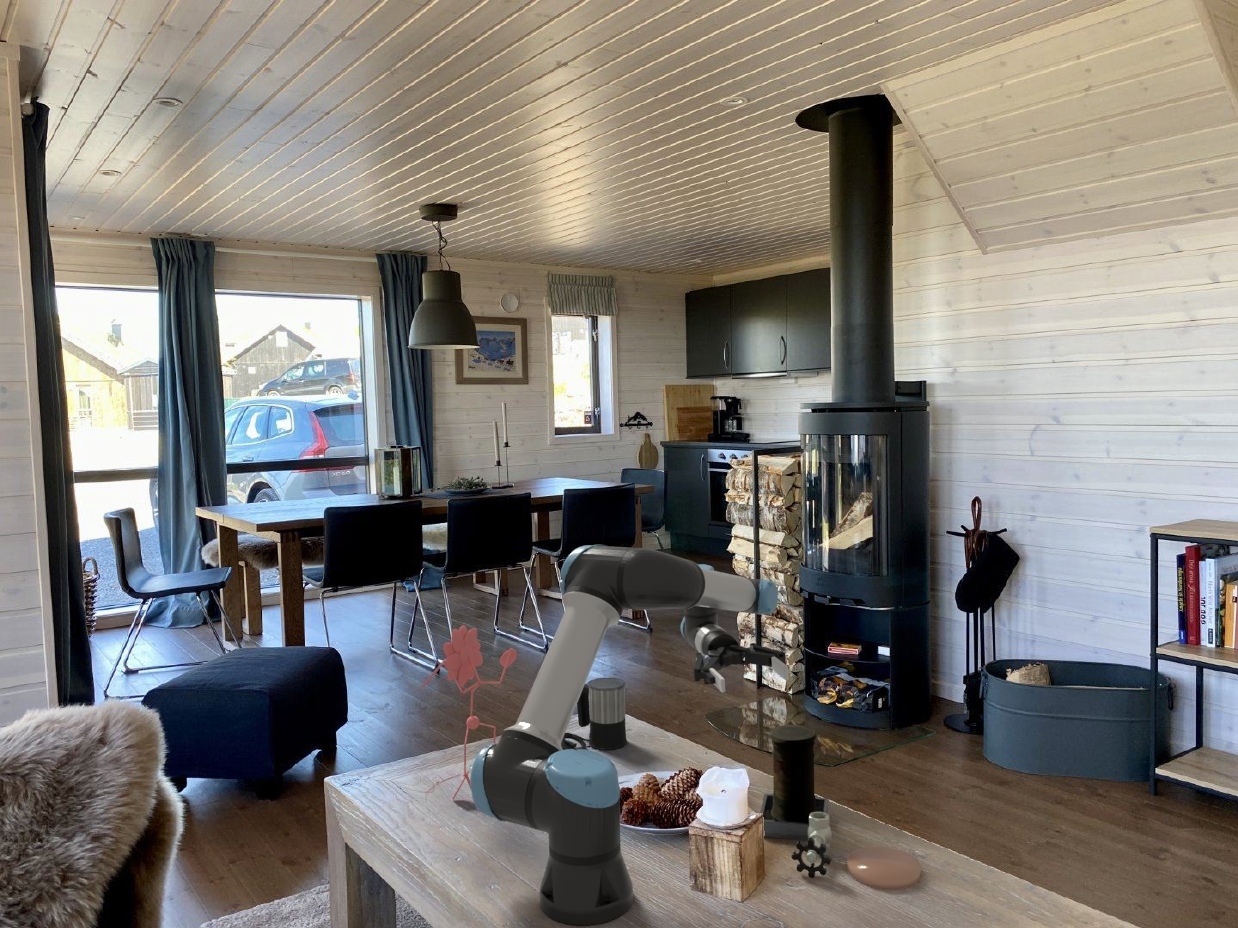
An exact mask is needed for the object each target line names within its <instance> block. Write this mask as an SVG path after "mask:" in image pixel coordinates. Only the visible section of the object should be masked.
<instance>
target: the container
mask: <svg viewBox="0 0 1238 928" xmlns="http://www.w3.org/2000/svg"><path fill="white" fill-rule="evenodd" d="M769 736H770V739H771V744H772V754H771V755H772V776H773V777H772V779H773V790H772V791H773V793H772V794H773V796H772V797H773V807H772V810H770V813H771V816H770V820H774V821H787V822H799V823H809V816H810V813H812V812H817V811H816V809H815V800H816V798H817V797H816V795H815V757H816V755H815V751H814V747H815V741H816V739H817V738H816V732H815V730H813V729H812V728H809V727H807V726H803V725H796V724H795V725H794V724H785V725H784V724H783V725H779V726H776V727H774V728H772V729H771V731H770V732H769Z"/></svg>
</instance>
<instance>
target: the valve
mask: <svg viewBox="0 0 1238 928" xmlns="http://www.w3.org/2000/svg"><path fill="white" fill-rule="evenodd" d="M830 823H831V822H830V814H829V813H828V814H826V813H824V812H812V813H810V816H809V828H808V838H809V839H808V841H807V844H805V845H804V844H803V841H802V840H797V841H796V845H795V847H796V850H798V852H796V851H792V853H791V859H792V860H793V861H798V864H797V866H796V871H797V872H798V873H802V872H803V871H804V870H805V871H807V872H808V873H807V876H808V878H809V879H810V878H811V879H815V876H816V872H819V874H820V875H821V876H826V875H827V872H828V868H827V867H825V865H826V866H830V865H831V864H832V856H829V855H830V852H831V840H832V830H831V829H832V828H831V827H830ZM804 852H805V853H806V854H805V855H806V856H805V857H806V861H807V862H808V863H809V864H810V866H809V865H807V864H806V862H805V861H804V860H803V858H802V855H803V853H804ZM819 857H820V861H821V862H820V863H819V864H818V865H817V866H815V864H816V862H817V861H818V859H819Z"/></svg>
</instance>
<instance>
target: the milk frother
mask: <svg viewBox="0 0 1238 928" xmlns="http://www.w3.org/2000/svg"><path fill="white" fill-rule="evenodd" d="M626 685H627V681H625V680H624V679H621V678H616V677H597V678H594V679H591V680H589V681H588V682H587V683H585V685H584V687H583V690H582V692H581V695H580V697H579V700H578V702H577V705H576V708H577V709H576V711H577V721H578V726H579V727H580V728H584V727H587V726H589V735H588V737H589V739H586V738H583V737H582V736H579V735H577V734H575V733H571V732H565V734H564V737H563V739H562V742H561V747H562V749H563V750H566V749H574V750H579V749H585V750H587V744H586V742H588V745H589V746H590V747H591V748H594V749H598V750H607V751H608V750H617V749H620V748H623V747H625V746H627V744H628V739H627V730H626ZM568 739H569V740H568ZM570 740H574V741H575V742H573V741H570ZM578 743H579V745H580V746H581V747H580V748H578V747H577V745H578Z"/></svg>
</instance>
